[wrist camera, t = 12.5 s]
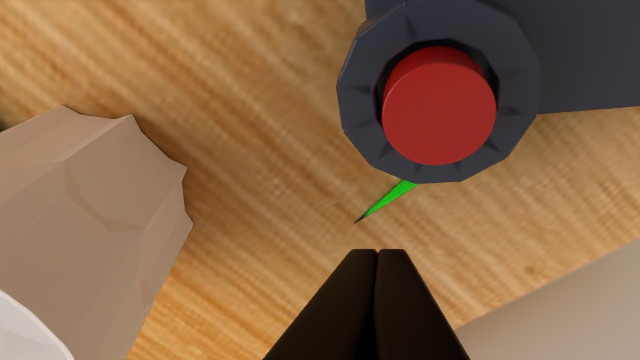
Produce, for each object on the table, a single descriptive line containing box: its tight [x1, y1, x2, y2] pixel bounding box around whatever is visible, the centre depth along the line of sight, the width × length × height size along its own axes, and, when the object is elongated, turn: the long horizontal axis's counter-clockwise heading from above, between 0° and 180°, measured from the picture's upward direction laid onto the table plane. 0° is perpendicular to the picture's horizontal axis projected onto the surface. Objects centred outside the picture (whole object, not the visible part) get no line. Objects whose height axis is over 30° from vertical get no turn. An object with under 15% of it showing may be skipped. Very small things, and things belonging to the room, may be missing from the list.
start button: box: [382, 46, 496, 165], centre depth 14 cm, size 3×3×2 cm
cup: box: [0, 105, 194, 360], centre depth 18 cm, size 10×10×10 cm
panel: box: [336, 0, 640, 184], centre depth 15 cm, size 11×8×3 cm
